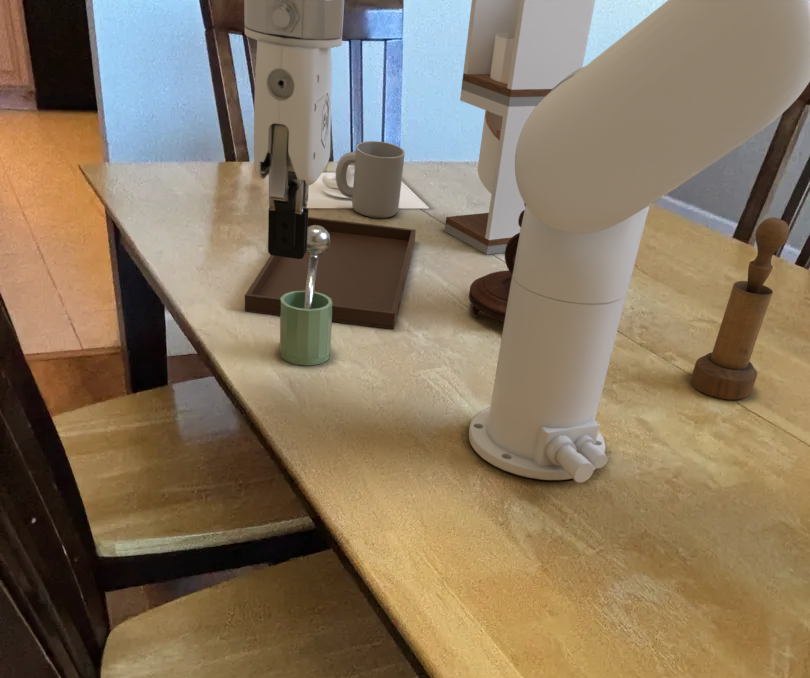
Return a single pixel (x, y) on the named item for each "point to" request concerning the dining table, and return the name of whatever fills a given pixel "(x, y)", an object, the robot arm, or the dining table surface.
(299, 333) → the tumbler
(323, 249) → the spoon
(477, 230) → the white shelf tower
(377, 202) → the cup
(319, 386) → the dining table surface
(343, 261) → the tray
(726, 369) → the mortar and pestle
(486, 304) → the dark brown wooden piece
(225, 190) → the dining table surface
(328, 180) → the teacup and saucer
